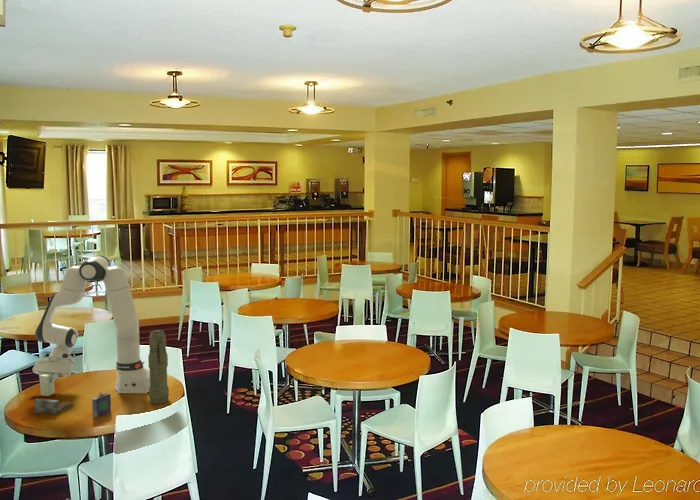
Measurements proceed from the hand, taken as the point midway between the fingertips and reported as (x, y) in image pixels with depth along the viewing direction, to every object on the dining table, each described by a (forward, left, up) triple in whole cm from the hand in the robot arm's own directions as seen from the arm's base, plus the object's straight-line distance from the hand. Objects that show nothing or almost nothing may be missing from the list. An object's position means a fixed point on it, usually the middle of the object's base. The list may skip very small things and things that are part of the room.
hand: (46, 382), depth 293 cm
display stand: (-16, +16, -6) cm, 23 cm away
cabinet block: (0, -1, -6) cm, 6 cm away
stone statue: (-59, -4, -7) cm, 59 cm away
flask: (-42, +17, -7) cm, 46 cm away
